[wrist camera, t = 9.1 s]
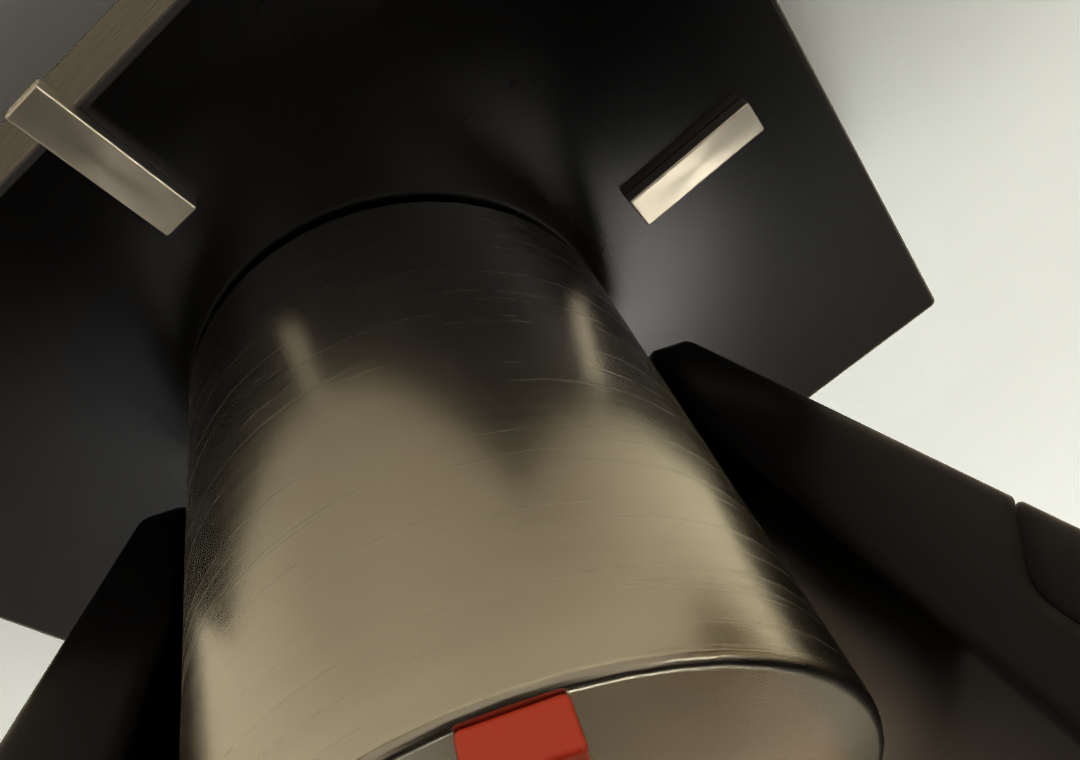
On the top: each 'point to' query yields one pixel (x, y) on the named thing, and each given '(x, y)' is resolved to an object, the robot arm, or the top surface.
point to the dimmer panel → (389, 178)
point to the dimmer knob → (475, 524)
